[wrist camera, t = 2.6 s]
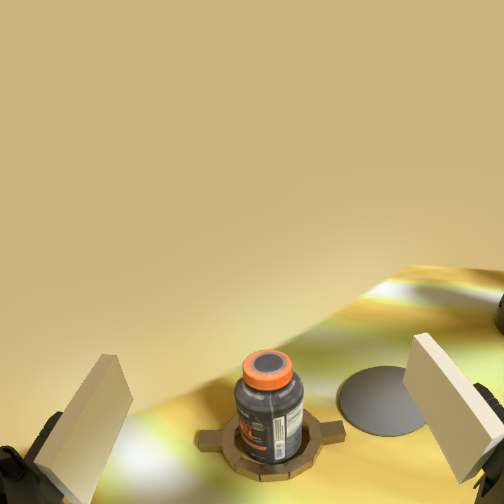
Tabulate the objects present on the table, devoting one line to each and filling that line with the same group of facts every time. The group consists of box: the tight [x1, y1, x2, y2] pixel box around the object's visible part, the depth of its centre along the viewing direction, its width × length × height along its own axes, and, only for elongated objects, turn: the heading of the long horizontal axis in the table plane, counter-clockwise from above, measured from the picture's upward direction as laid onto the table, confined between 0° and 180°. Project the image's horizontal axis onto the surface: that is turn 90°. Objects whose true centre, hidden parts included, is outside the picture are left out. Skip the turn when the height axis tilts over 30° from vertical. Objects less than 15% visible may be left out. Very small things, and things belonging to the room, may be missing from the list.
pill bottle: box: [235, 350, 303, 464], centre depth 25 cm, size 6×6×11 cm
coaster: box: [340, 366, 426, 437], centre depth 30 cm, size 12×12×1 cm
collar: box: [198, 409, 346, 482], centre depth 26 cm, size 15×10×1 cm
